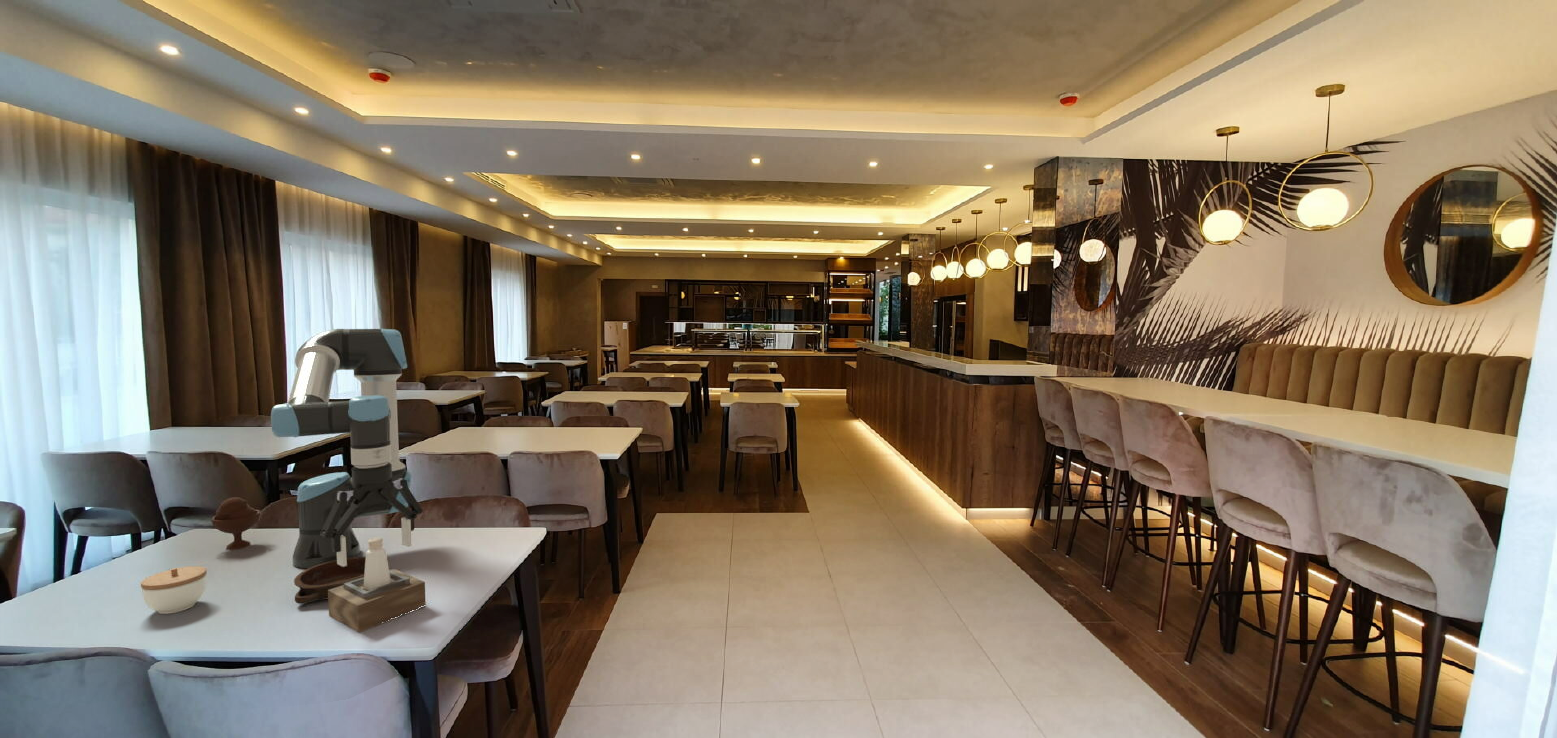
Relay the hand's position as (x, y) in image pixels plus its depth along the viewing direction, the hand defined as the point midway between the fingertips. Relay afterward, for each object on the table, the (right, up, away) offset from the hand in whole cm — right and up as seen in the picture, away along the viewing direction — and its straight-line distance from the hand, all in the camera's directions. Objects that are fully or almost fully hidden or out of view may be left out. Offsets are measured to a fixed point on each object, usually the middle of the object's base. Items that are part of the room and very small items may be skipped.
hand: (375, 554), depth 137 cm
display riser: (0, -13, +1) cm, 13 cm away
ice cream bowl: (-68, -10, +40) cm, 79 cm away
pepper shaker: (0, -8, 0) cm, 8 cm away
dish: (-17, -13, +13) cm, 25 cm away
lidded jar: (-47, -13, +2) cm, 49 cm away
